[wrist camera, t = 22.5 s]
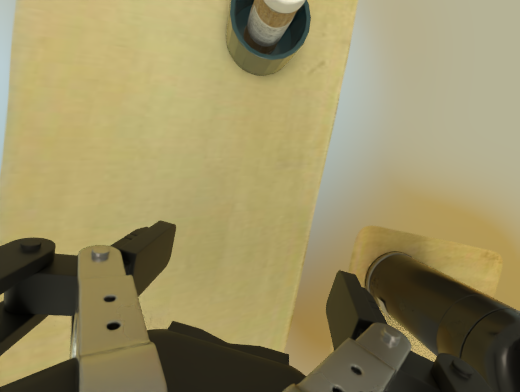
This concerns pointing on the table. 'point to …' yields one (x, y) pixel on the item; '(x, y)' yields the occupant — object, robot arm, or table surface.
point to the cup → (251, 57)
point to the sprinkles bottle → (269, 23)
